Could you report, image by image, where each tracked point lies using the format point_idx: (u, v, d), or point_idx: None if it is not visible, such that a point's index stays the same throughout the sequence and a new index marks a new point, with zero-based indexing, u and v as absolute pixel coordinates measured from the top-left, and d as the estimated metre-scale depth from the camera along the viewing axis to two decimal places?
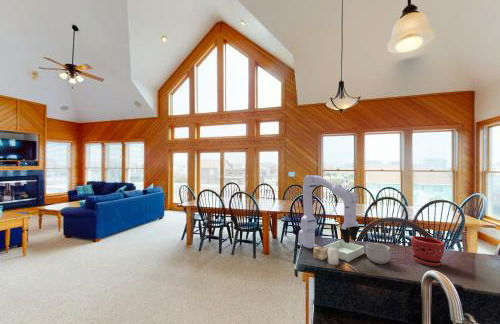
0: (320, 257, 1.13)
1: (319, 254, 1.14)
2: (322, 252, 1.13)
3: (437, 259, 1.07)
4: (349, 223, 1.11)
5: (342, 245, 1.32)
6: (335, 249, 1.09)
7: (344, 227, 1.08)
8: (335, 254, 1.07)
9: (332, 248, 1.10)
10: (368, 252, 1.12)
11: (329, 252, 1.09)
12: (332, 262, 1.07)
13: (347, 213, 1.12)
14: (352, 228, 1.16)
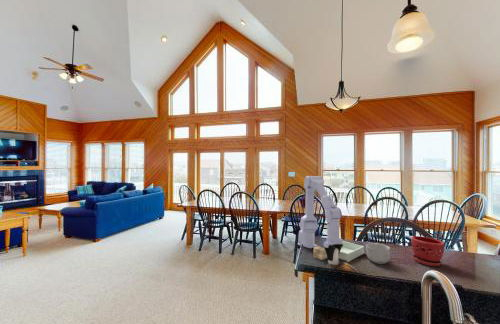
0: (320, 257, 1.13)
1: (319, 254, 1.14)
2: (322, 252, 1.13)
3: (437, 259, 1.07)
4: (332, 241, 1.07)
5: None
6: (335, 249, 1.09)
7: (326, 245, 1.05)
8: (335, 253, 1.07)
9: None
10: (368, 252, 1.12)
11: None
12: (332, 262, 1.07)
13: (328, 230, 1.09)
14: (335, 245, 1.12)
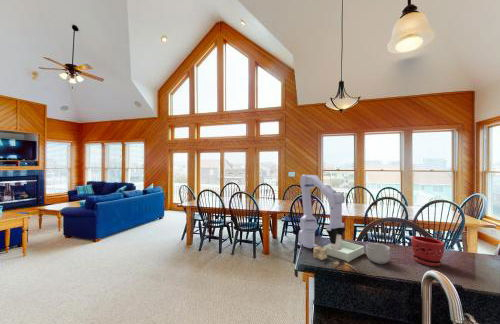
0: (320, 257, 1.13)
1: (319, 254, 1.14)
2: (322, 252, 1.13)
3: (437, 259, 1.07)
4: (334, 224, 1.11)
5: (342, 245, 1.32)
6: (338, 235, 1.12)
7: (329, 228, 1.08)
8: (338, 239, 1.10)
9: None
10: (368, 252, 1.12)
11: None
12: (335, 247, 1.10)
13: (331, 214, 1.12)
14: (337, 230, 1.15)
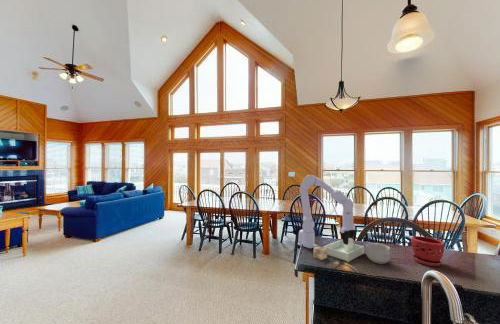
0: (320, 257, 1.13)
1: (319, 254, 1.14)
2: (322, 252, 1.13)
3: (437, 259, 1.07)
4: (347, 227, 1.24)
5: (342, 245, 1.32)
6: (350, 239, 1.25)
7: (342, 231, 1.21)
8: (350, 242, 1.23)
9: None
10: (368, 252, 1.12)
11: None
12: (347, 250, 1.23)
13: (348, 218, 1.24)
14: (349, 232, 1.28)
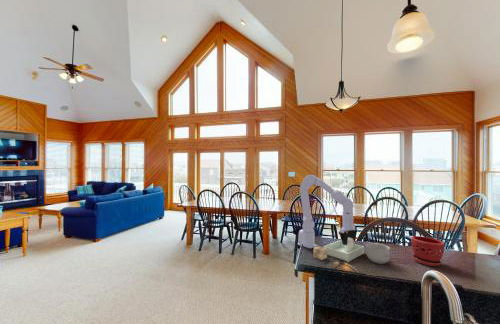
0: (320, 257, 1.13)
1: (319, 254, 1.14)
2: (322, 252, 1.13)
3: (437, 259, 1.07)
4: (347, 227, 1.24)
5: (342, 245, 1.32)
6: (350, 239, 1.25)
7: (342, 231, 1.21)
8: (350, 242, 1.23)
9: None
10: (368, 252, 1.12)
11: None
12: (347, 250, 1.23)
13: (348, 219, 1.24)
14: (350, 232, 1.29)
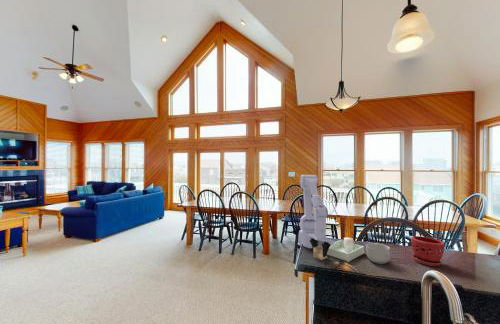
0: (320, 257, 1.13)
1: (319, 254, 1.14)
2: (322, 252, 1.13)
3: (437, 259, 1.07)
4: (314, 235, 1.18)
5: (342, 245, 1.32)
6: (350, 239, 1.25)
7: None
8: (350, 242, 1.23)
9: (347, 238, 1.26)
10: (368, 252, 1.12)
11: (345, 241, 1.25)
12: (347, 250, 1.23)
13: (315, 227, 1.16)
14: None
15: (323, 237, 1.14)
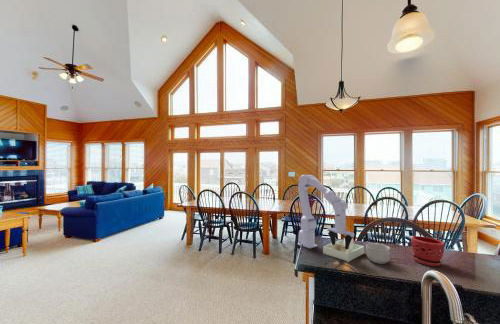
0: None
1: None
2: (342, 249, 1.17)
3: (437, 259, 1.07)
4: (334, 228, 1.22)
5: None
6: None
7: None
8: (350, 242, 1.23)
9: None
10: (368, 252, 1.12)
11: None
12: (347, 250, 1.23)
13: (338, 221, 1.19)
14: None
15: (343, 230, 1.18)
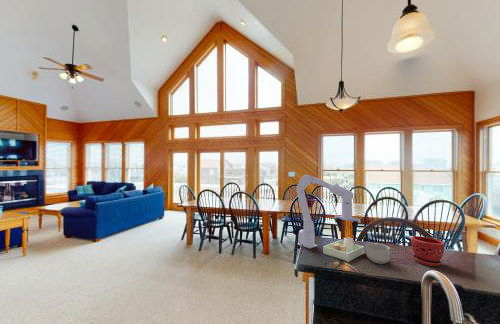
0: None
1: None
2: (342, 249, 1.17)
3: (437, 259, 1.07)
4: None
5: None
6: (350, 239, 1.25)
7: None
8: (350, 242, 1.23)
9: (347, 238, 1.26)
10: (368, 252, 1.12)
11: (345, 241, 1.25)
12: (347, 250, 1.23)
13: (348, 208, 1.28)
14: None
15: (350, 216, 1.28)
